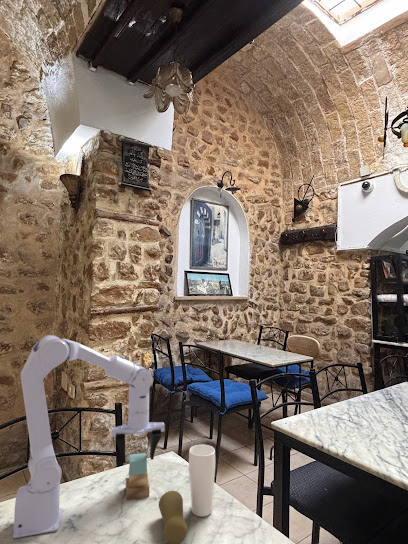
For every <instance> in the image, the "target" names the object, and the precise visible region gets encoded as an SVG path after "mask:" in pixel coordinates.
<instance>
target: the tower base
mask: <svg viewBox="0 0 408 544" xmlns="http://www.w3.org/2000/svg"><path fill="white" fill-rule="evenodd" d="M149 482H150V481H148V485H145V486H137V487H129V477H125V493H126V495H125V497H126V501H131V500H137V499H143V498H149V497H150V483H149Z"/></svg>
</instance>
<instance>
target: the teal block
mask: <svg viewBox="0 0 408 544" xmlns="http://www.w3.org/2000/svg"><path fill="white" fill-rule="evenodd" d="M128 464H129V466H128V468H129V469H130V476H132V475H140V474H147V472H148V461H147V453H146V452H143V453H133V454H129V463H128ZM129 469H128V470H129Z"/></svg>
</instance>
